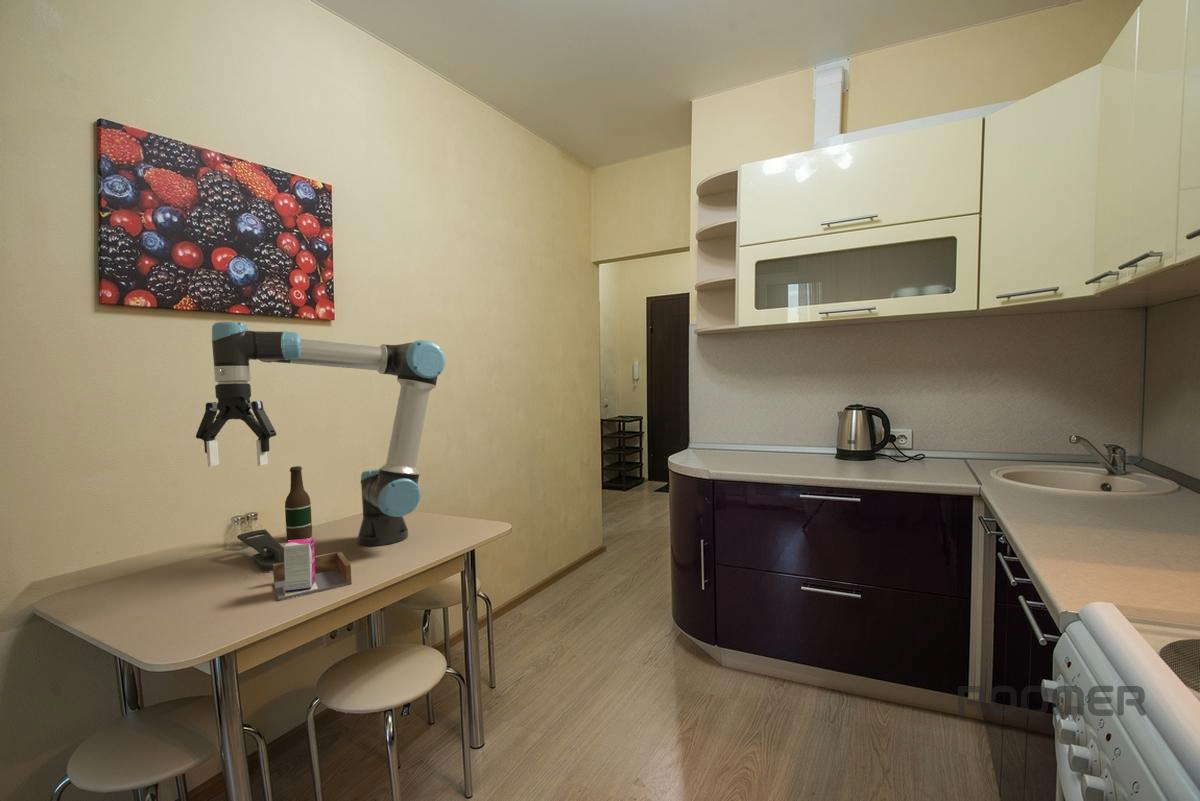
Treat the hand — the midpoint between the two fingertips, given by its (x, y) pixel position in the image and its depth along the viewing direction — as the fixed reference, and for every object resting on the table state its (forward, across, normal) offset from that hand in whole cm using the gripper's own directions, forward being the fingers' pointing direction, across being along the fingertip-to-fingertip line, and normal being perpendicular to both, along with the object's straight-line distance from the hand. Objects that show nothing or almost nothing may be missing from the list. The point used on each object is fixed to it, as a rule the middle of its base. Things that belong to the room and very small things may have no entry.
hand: (238, 465), depth 138 cm
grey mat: (+31, +19, -1) cm, 36 cm away
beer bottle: (+31, -11, +38) cm, 50 cm away
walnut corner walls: (+31, +19, -1) cm, 36 cm away
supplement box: (+30, +19, -5) cm, 36 cm away
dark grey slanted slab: (+31, -7, +17) cm, 36 cm away
